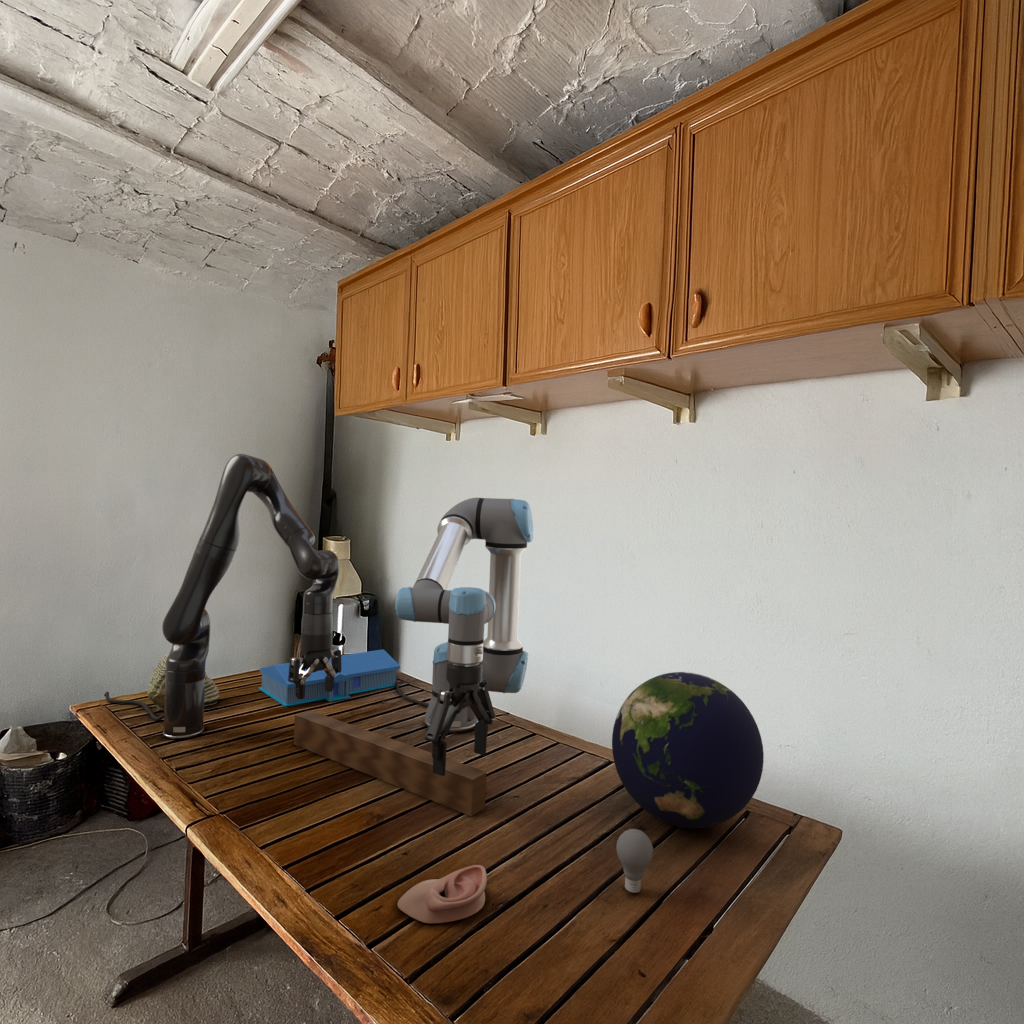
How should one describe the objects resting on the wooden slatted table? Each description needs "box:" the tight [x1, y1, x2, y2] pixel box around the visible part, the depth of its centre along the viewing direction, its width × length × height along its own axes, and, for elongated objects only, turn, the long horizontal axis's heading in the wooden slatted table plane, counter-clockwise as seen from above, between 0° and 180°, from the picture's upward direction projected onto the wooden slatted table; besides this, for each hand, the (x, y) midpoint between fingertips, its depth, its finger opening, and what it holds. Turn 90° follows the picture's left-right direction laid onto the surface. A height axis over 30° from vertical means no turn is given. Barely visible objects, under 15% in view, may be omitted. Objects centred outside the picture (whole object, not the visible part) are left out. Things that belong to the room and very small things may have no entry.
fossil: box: [147, 654, 221, 712], centre depth 185 cm, size 9×18×15 cm, turn 132°
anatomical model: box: [396, 864, 488, 925], centre depth 101 cm, size 13×4×12 cm
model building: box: [258, 649, 401, 707], centre depth 208 cm, size 39×24×10 cm, turn 132°
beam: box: [293, 710, 487, 817], centre depth 146 cm, size 57×5×8 cm, turn 56°
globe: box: [611, 671, 765, 829], centre depth 130 cm, size 30×30×30 cm
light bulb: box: [615, 828, 654, 894], centre depth 106 cm, size 6×6×10 cm
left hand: (315, 694), depth 158 cm, fingers open, 8 cm apart
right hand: (460, 763), depth 133 cm, fingers open, 13 cm apart
